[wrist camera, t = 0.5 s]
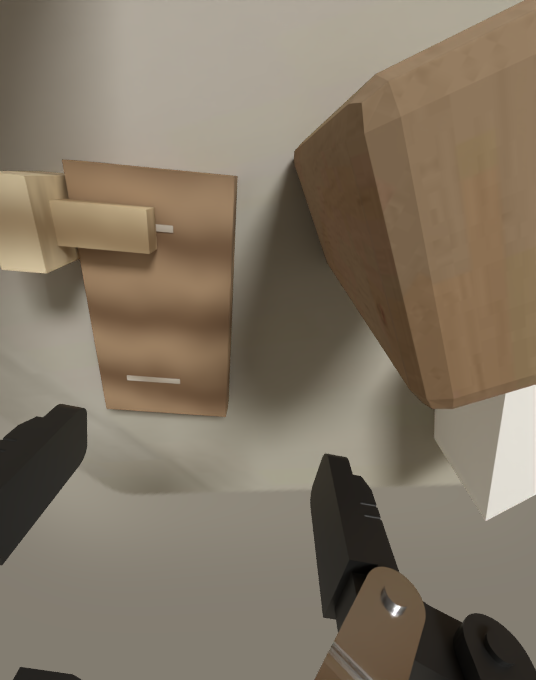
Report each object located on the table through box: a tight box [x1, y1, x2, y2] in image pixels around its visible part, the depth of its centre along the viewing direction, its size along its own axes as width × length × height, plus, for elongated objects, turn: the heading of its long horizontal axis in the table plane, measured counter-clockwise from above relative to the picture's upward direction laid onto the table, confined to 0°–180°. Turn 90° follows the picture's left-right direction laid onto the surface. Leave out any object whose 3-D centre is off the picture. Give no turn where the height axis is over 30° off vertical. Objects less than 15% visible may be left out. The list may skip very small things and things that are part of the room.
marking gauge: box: [0, 171, 157, 273], centre depth 24 cm, size 6×10×6 cm, turn 85°
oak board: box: [62, 160, 237, 417], centre depth 29 cm, size 22×12×3 cm, turn 175°
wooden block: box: [294, 0, 536, 409], centre depth 17 cm, size 10×10×20 cm
